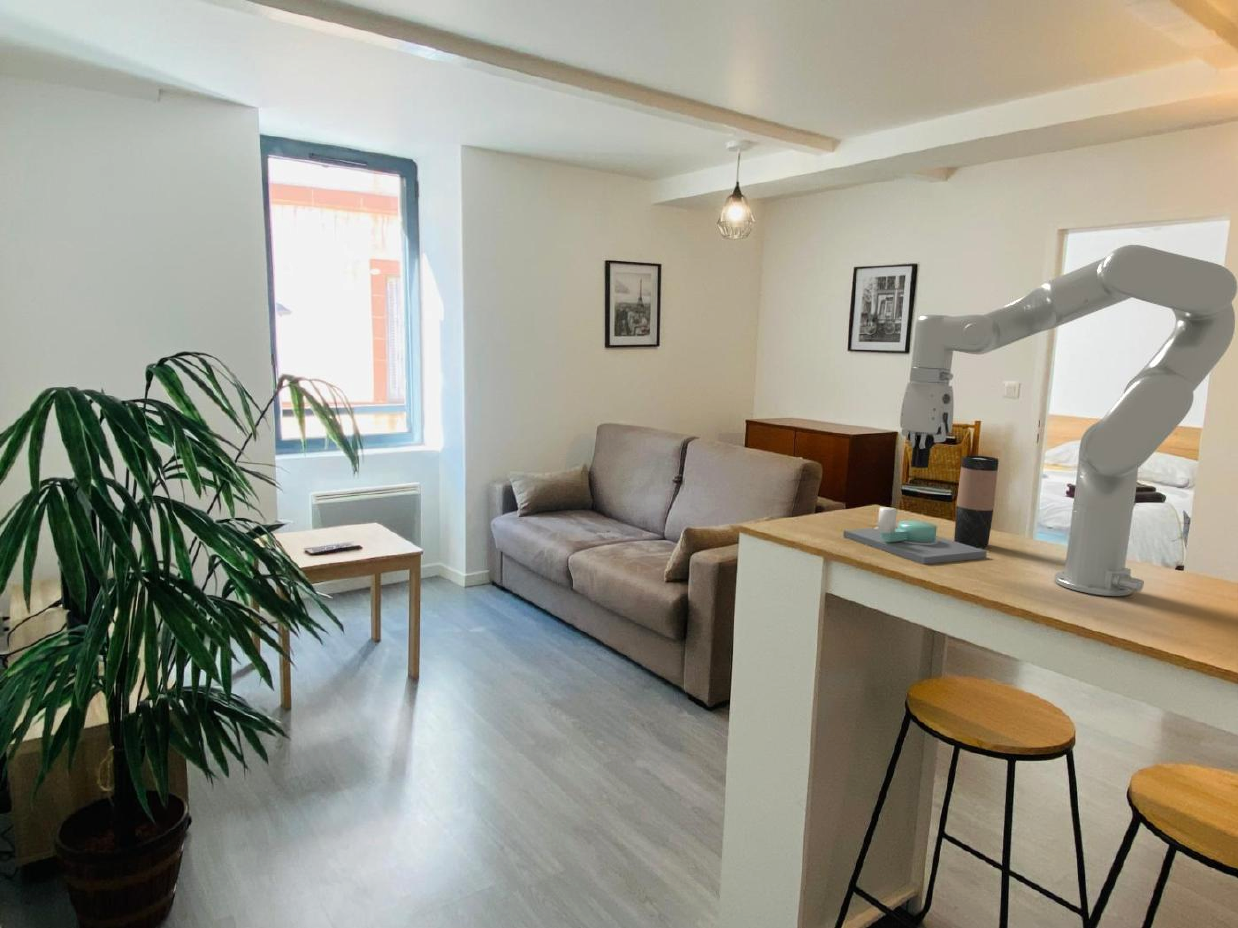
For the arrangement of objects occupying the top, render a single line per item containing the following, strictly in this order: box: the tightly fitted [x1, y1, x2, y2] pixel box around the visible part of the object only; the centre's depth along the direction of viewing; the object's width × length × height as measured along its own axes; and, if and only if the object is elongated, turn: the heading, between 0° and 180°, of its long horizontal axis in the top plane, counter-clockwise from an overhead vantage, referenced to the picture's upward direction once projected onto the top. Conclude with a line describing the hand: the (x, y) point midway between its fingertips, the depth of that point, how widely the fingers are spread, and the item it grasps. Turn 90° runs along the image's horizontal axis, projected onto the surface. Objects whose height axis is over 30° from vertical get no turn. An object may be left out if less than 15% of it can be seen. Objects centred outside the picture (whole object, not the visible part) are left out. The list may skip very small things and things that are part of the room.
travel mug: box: [953, 454, 1000, 549], centre depth 176 cm, size 8×8×20 cm
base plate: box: [843, 525, 988, 565], centre depth 173 cm, size 24×18×2 cm
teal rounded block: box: [877, 506, 938, 542], centre depth 171 cm, size 15×8×7 cm, turn 115°
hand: (919, 467), depth 160 cm, fingers closed
